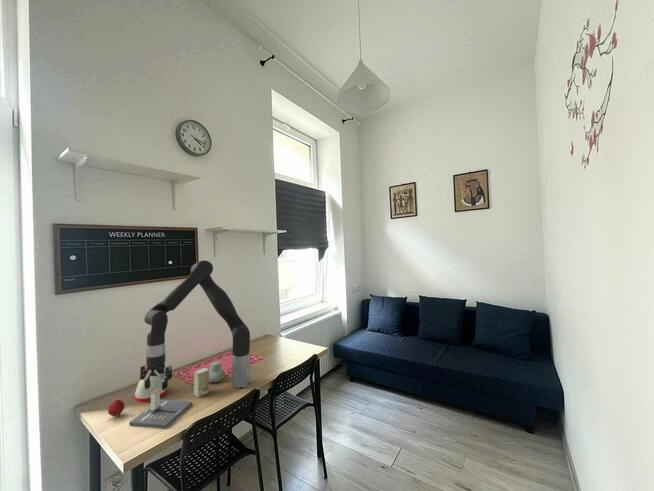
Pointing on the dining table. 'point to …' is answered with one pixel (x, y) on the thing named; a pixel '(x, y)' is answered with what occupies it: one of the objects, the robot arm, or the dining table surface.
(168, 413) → the console
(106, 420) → the dining table surface
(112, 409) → the onion
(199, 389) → the skincare box
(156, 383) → the kitchen timer
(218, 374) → the air freshener
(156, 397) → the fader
